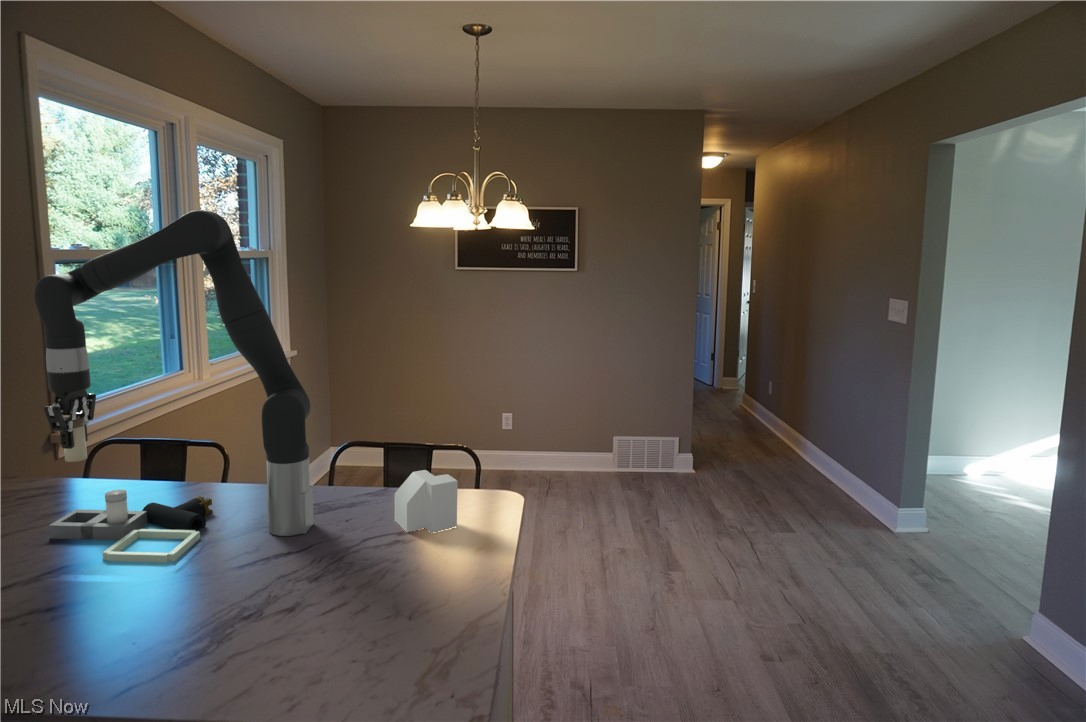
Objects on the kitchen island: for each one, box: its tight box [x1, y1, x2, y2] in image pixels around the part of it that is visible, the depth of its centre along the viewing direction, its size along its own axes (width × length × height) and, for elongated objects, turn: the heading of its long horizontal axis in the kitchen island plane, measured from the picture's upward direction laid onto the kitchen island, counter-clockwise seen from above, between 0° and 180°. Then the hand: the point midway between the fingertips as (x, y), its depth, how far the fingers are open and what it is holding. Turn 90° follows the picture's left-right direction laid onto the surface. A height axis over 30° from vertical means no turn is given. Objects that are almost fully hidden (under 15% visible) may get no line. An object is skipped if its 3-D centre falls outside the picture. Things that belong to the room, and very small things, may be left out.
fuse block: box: [48, 508, 149, 541], centre depth 153 cm, size 16×9×4 cm, turn 91°
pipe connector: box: [141, 495, 214, 530], centre depth 161 cm, size 12×5×15 cm
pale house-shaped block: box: [394, 469, 459, 534], centre depth 164 cm, size 11×11×12 cm
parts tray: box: [102, 528, 201, 566], centre depth 146 cm, size 14×12×2 cm
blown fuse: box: [63, 416, 88, 463], centre depth 150 cm, size 4×4×9 cm
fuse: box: [104, 489, 129, 524], centre depth 153 cm, size 4×4×9 cm
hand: (75, 444), depth 150 cm, fingers closed on blown fuse, 4 cm apart
